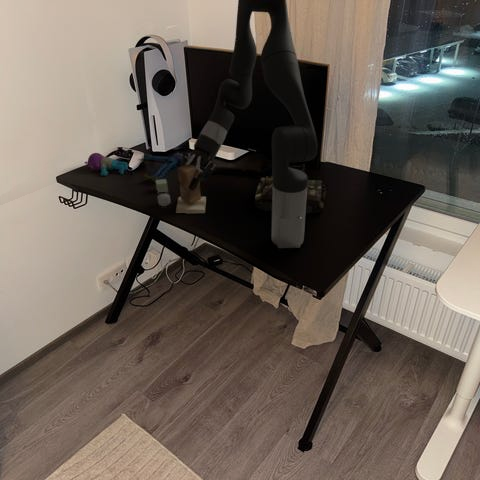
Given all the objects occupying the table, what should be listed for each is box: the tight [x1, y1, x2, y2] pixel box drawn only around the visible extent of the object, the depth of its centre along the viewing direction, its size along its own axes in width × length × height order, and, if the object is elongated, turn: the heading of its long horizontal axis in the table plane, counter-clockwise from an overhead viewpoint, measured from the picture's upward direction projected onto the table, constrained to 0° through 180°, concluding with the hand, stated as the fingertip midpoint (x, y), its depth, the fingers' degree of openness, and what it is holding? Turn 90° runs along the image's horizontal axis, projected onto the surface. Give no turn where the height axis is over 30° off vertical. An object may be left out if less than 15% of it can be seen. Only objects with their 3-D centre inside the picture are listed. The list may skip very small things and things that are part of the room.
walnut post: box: [177, 164, 202, 204], centre depth 143 cm, size 4×4×11 cm
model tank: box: [254, 165, 328, 214], centre depth 145 cm, size 13×22×15 cm, turn 81°
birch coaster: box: [175, 196, 207, 214], centre depth 147 cm, size 9×9×1 cm
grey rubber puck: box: [157, 193, 172, 206], centre depth 149 cm, size 4×4×3 cm
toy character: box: [142, 152, 184, 183], centre depth 171 cm, size 30×4×25 cm
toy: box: [84, 152, 129, 177], centre depth 172 cm, size 12×7×15 cm
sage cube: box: [155, 178, 169, 194], centre depth 157 cm, size 4×4×4 cm
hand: (185, 187), depth 142 cm, fingers closed on walnut post, 4 cm apart
